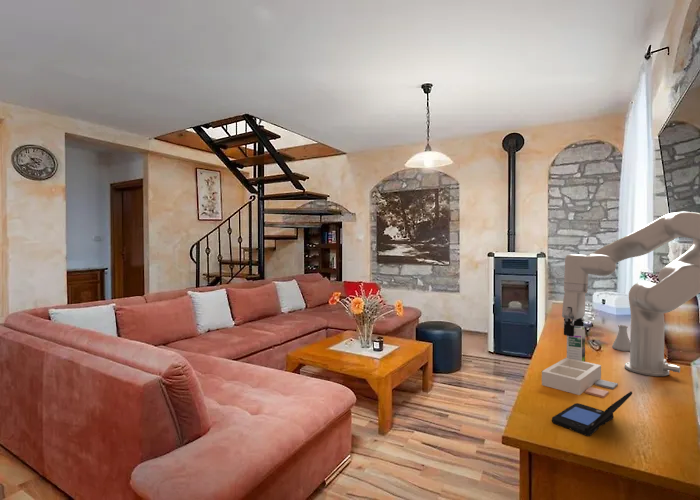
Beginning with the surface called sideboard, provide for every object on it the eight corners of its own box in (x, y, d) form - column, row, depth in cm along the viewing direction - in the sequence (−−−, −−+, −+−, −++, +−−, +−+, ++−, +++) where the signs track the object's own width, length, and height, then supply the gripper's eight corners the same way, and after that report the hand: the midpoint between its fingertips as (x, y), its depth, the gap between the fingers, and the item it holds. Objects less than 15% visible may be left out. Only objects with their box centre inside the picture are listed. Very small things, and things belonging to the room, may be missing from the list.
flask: (637, 351, 160) (637, 327, 159) (619, 351, 160) (619, 327, 160) (625, 346, 167) (625, 323, 167) (608, 346, 167) (608, 323, 167)
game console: (576, 407, 109) (576, 375, 109) (633, 425, 98) (634, 390, 98) (549, 423, 100) (549, 388, 99) (609, 446, 89) (609, 407, 88)
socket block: (620, 382, 126) (620, 369, 126) (600, 400, 112) (600, 385, 112) (565, 370, 138) (565, 357, 138) (541, 385, 125) (541, 371, 125)
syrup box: (566, 366, 142) (567, 327, 142) (566, 362, 147) (566, 324, 147) (585, 368, 139) (585, 329, 139) (583, 364, 145) (584, 325, 144)
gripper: (573, 285, 151) (571, 328, 152) (555, 288, 140) (553, 335, 140) (594, 287, 145) (592, 332, 146) (578, 290, 134) (576, 339, 135)
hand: (573, 333), depth 143 cm, fingers open, 9 cm apart
